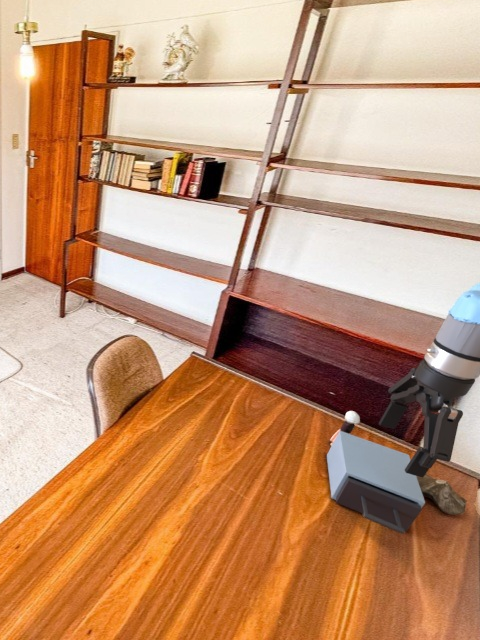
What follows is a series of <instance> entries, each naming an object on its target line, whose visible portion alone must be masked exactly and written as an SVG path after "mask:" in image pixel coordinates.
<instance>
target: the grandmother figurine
mask: <svg viewBox="0 0 480 640" xmlns="http://www.w3.org/2000/svg"><path fill="white" fill-rule="evenodd" d="M360 419H361V417H360V415H359V414H358V413H357V412H356V411H353V410H349V411H347V412H346V413H345V416H344V420H345V421H344V422H343V423H342V425H341V426H340V428H339V429H338V430H337V431H336V432H335V433H334V434H333V435H332V436H331V438H329V441H330V442H331V443H330V444H329V445H330V447H331V446H332V444H333V442H334V440H335V439H336V437H337V435H338V433H339V431H342V432H345V433H348V434H351V433H352V432H353V431H354V430H355V424H356V425H357V424H359V423H360V422H361V420H360Z"/></svg>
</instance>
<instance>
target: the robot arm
mask: <svg viewBox="0 0 480 640" xmlns="http://www.w3.org/2000/svg"><path fill="white" fill-rule="evenodd" d="M423 358H424V359H421V360H420V362H419V364H418V365H417V368H416V367H412V368H411V369H410V370H409V372H408V374H406V375H405V376H404V377H402V378H401V379H399V380H398V381H396V382H395V383H394V384H393V385H392V386H390V387H389V388H388V393H389V394H391V395H390V402H389V404H388V406H387V408H386V409H385V411H384V413H383V414H382V416H381V418H380V420H379V422H378V425H379V426H380V427H385V428H388V429H393V430H395V429H396V427H397V426H398V424H399V422H400V421H401V419H402V417H403V416H404V414H405V413H406V411H407V409H408V406H407V405H409V406H410V403H414V402H417V403H419V404H420V407H421V415H422V416H423V417H424V427H423V446H419V447H418V448H417V449H416V451H415V452H414V454H413V456H412V458H410V460H411V461H410V462H409V464H408V465H407V467H406V468H405V472H406V473H408V474H412V475H415V476H419V477H422V478H423V477H424V476H425V474H427V472H429V470H430V469H431V468H432V467H433V466H434V464H435V463H436V462H437V460H439V461H444V462H447V463H450V462H451V460H452V455H453V451H454V446H455V441H456V436H457V432H458V428H459V424H460V421H461V419H462V418H463V415H464V412H463V410H461V409H457V408H455V407H454V406H453V402H454V400H455V399H456V398H459V397H464V396H466V395H468V393H469V391H470V390H471V389H472V387H473V385H474V384H475V383H476V379H478V378H480V282H477V283H476V284H474V285H472V286H471V287H470V288H469V289H468V290H467V291H464V292H463V293H461V294H460V296H459V297H458V298H457V299H456V300H455V302H454V303H453V305H452V306H451V308H450V309H448V314H447V315H446V317H445V319H444V321H443V323H442V325H441V327H440V328H439V330H438V332H437V333H436V335H435V337H434V339H433V341H432V343H431V344H430V346H429V347H428V348H427V349H426V353H425V355H424V356H423Z"/></svg>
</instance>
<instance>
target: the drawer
mask: <svg viewBox="0 0 480 640" xmlns="http://www.w3.org/2000/svg"><path fill="white" fill-rule="evenodd" d="M335 502H336V503H337V504H339V505H341V506H344V507H346V508H349V509H351V510H353V511H356V512H358V513H360V514H362V518H364V519H366V520H368V521H371V522H373V523H376V524H378V525H381V526H383V527H385V528H387V529H389V530H392V531H394V532H397V533H399V534H402V535H405V533H407V532H408V531H409V529H410V528H411V526H412V525H413V524H414V522H415V521H416V519H417V518H418V516H419V515H420V514H421V513H422V511H423V507H422V508H421V506H420V505H417V504H415V503H413V502H414V501H412V500H410V499H407V498H405V497H402V496H400V495H397V494H395V493H392V492H389V491H387V490H384V489H382V488H379V487H377V486H374V485H372V484H369V483H366V482H364V481H361V480H359V479H356V478H354V477H351V476H348V478H347V480H346V482H345V483H344V485H343V487H342V489H341V490H340V492H339V494H338V496H337V498H336V500H335Z"/></svg>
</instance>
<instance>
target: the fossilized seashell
mask: <svg viewBox="0 0 480 640" xmlns="http://www.w3.org/2000/svg"><path fill="white" fill-rule="evenodd" d="M416 477H417V480H418V483H419V486H420V489H421V491H422V494H423V497H424V498H428V499H431V501H432V502H433V503H434V505H435V506H436V507H437V508H438V509H439V510H440V511H441V512H443V513H445V514H447V515H451V516H460V515H463V514H465V513H466V507H467V506H466V505H467V504H466V503H467V501H468V500H467V499H465V498H464V497H463V496H461V495H460V494H459V493H458V492H456V490H454V489H453V487H452V486H451V484H450V483H449V482H448V481H447V480H443V479H438V478H434V477H432V476H431V475H428V474H427V473H426V474H425V476H424V477H423V478H422V477H419V476H416Z"/></svg>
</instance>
